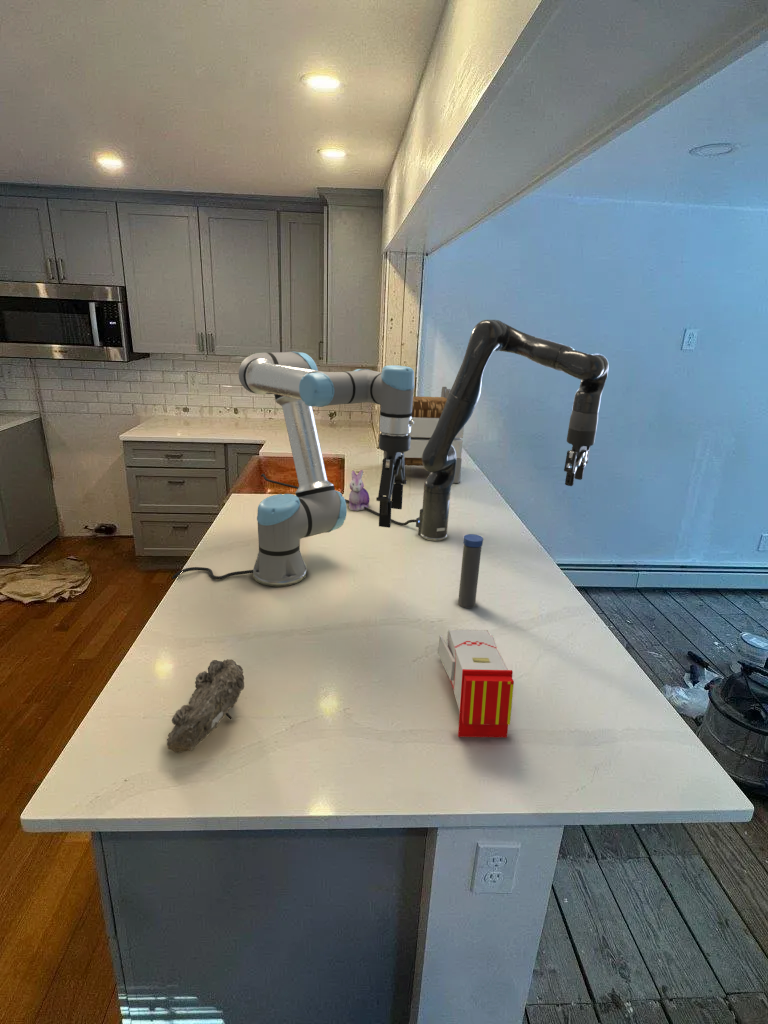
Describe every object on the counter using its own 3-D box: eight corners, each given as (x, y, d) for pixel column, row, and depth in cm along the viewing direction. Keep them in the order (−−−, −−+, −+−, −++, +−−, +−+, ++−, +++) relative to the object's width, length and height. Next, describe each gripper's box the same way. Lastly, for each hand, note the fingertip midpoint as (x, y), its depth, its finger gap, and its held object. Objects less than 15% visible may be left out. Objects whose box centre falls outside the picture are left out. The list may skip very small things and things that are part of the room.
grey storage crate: (382, 463, 289) (386, 382, 275) (445, 464, 293) (451, 384, 279) (390, 482, 257) (394, 392, 243) (460, 483, 261) (468, 394, 247)
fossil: (192, 660, 117) (244, 628, 112) (224, 691, 120) (276, 661, 115) (142, 746, 98) (202, 712, 93) (182, 779, 101) (242, 748, 96)
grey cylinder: (454, 602, 154) (460, 538, 148) (465, 598, 157) (472, 534, 151) (467, 609, 151) (474, 544, 145) (478, 604, 154) (485, 540, 148)
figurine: (353, 512, 218) (354, 475, 213) (342, 504, 226) (343, 468, 221) (375, 509, 222) (376, 473, 217) (363, 501, 230) (364, 466, 225)
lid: (459, 542, 148) (459, 536, 148) (471, 538, 152) (472, 532, 151) (473, 549, 145) (474, 542, 144) (486, 544, 148) (487, 538, 147)
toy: (488, 613, 130) (523, 677, 101) (484, 667, 133) (517, 744, 104) (435, 612, 130) (455, 676, 101) (432, 666, 133) (451, 743, 103)
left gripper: (399, 446, 122) (394, 537, 129) (419, 425, 145) (414, 503, 152) (366, 442, 124) (363, 532, 131) (391, 422, 147) (387, 500, 154)
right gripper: (577, 422, 167) (568, 474, 173) (561, 428, 156) (552, 484, 162) (603, 425, 163) (593, 479, 169) (588, 433, 152) (578, 490, 158)
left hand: (390, 517), depth 142 cm, fingers open, 13 cm apart
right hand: (573, 482), depth 165 cm, fingers open, 8 cm apart
